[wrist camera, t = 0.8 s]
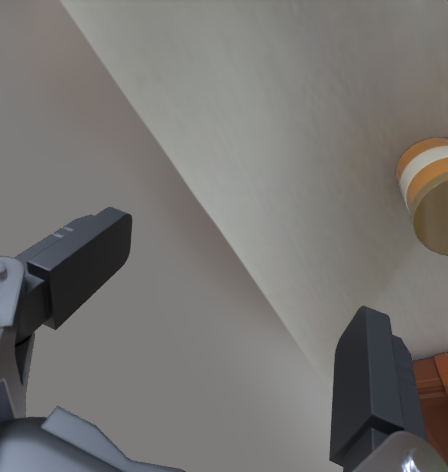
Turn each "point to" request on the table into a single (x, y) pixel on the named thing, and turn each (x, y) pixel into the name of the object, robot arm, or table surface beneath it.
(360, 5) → the table surface
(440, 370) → the book
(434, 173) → the honey jar
